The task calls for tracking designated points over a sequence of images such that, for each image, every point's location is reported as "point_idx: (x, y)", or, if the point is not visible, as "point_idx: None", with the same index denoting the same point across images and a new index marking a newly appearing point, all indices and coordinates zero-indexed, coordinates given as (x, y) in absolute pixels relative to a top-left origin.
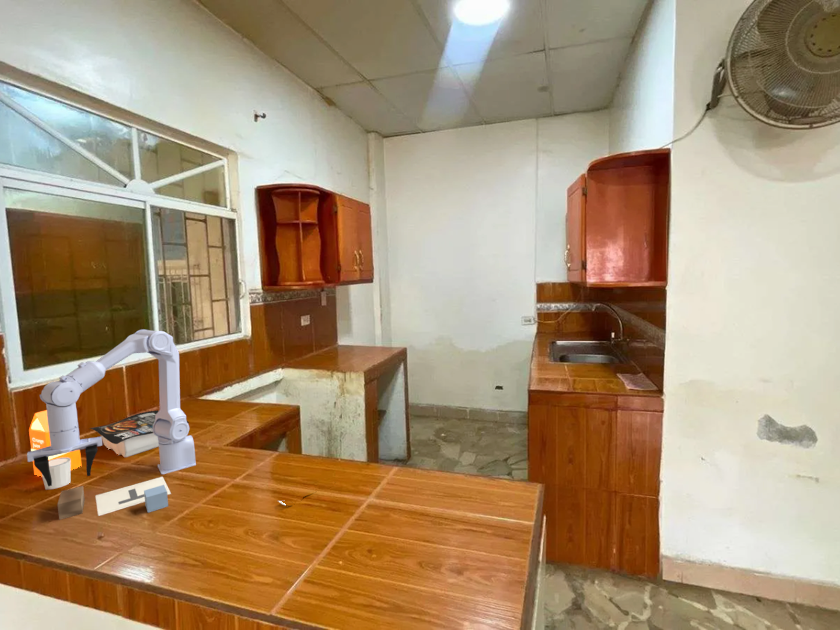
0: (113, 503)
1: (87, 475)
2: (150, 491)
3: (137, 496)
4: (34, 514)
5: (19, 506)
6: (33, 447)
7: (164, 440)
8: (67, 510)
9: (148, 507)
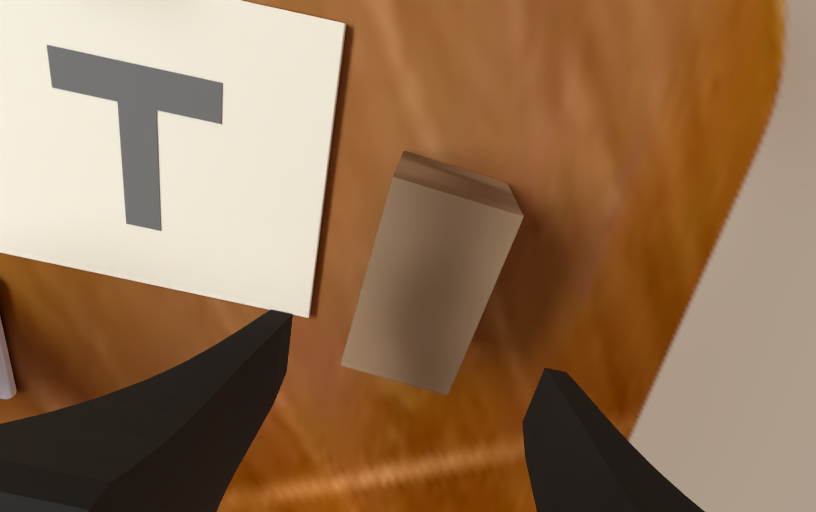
0: (247, 130)
1: (287, 316)
2: None
3: (118, 96)
4: (556, 362)
5: None
6: None
7: None
8: (470, 185)
9: None
